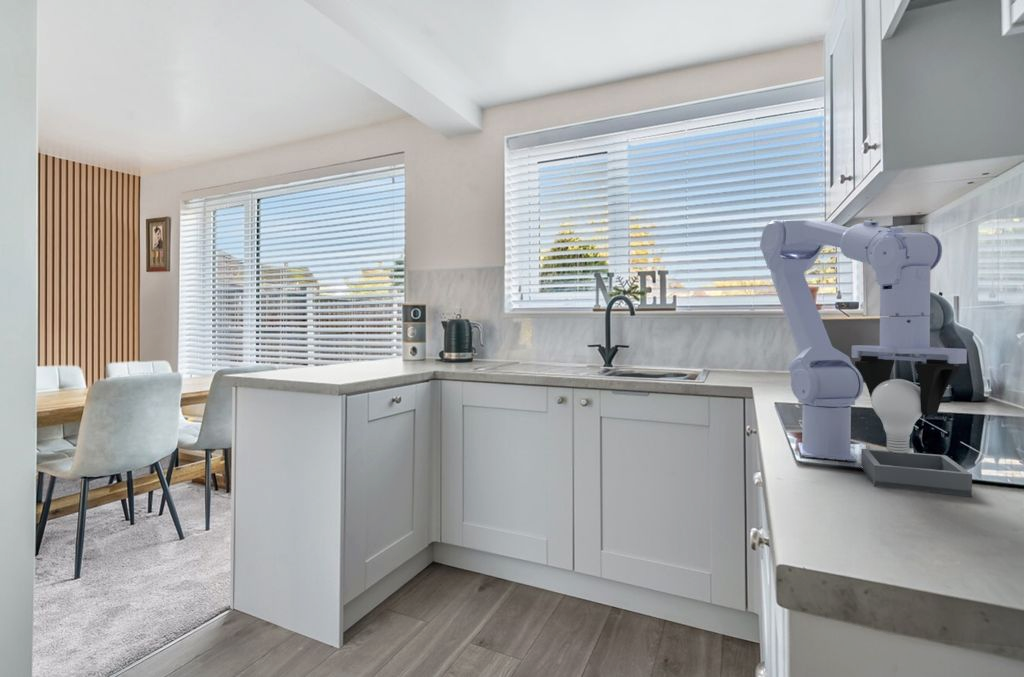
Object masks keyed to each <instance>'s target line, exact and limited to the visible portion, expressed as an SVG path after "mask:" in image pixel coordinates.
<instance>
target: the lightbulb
mask: <svg viewBox="0 0 1024 677" xmlns="http://www.w3.org/2000/svg"><path fill="white" fill-rule="evenodd" d="M870 402H871V407H872V409H873V411H874V412H875V414H876V415H877V416H878V418H880V420H881V423H882V425H883V430H884V432H885V435H886V436H885V437H886V447H885V448H886V449H885V450H886V451H890V452H891V453H893V454H895V455H903V454H905V453H908V452H910V451H911V450H910V438H911V434H912V432H913V430H914V426H915V424H916V422H917V421H918V420H919V419H920V418H921V417H922V416H923V415H922V412H921V391H920V386H918V385H917V384H916V383H913V382H912V381H909V380H906V379H902V378H893V379H891V378H890V379H889V380H887V381H884V382H882V383H880V384H879V385H878V386H877V387H876V388H875V389H874V390H873V392H872V395H871V397H870Z"/></svg>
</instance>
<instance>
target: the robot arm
mask: <svg viewBox="0 0 1024 677" xmlns="http://www.w3.org/2000/svg"><path fill="white" fill-rule="evenodd" d="M825 246H831V247H835V248H839V249H840V251H841V254H842V255H843V256H844V257H845V258H847V259H851V260H854V261H857V262H861V263H864V264H867V265H869V266H871V268H872V269H873V270H874V272H875V282H877V285H879V345H861V344H860V345H859V344H858V345H851V358H854V359H860V360H855V362H854V364H853V363H852V360H851V358H850V356H848V355H847V354H845V353H843V352H842V351H840V350H839V349H837V348H835V347H834V346H833V344H832V342H831V340H830V338H829V335H828V333H827V330H826V327H825V325H824V322H823V319H822V317H821V315H820V312H819V309H818V307H817V304H816V301H815V300H814V296H813V294H812V291H811V289H810V286H809V284H808V281H807V279H806V276H805V272H807V271H808V270H810V269H812V268H813V266H814V264H815V262H816V261H817V259H818V257H819V255H820V254H821V252H822V250H823V248H824V247H825ZM759 247H760V249H761V253H762V256H763V258H764V261H765V264H766V266H767V268H768V270H770V275H771V280H772V283H773V286H774V288H775V292H776V294H777V296H778V300H779V302H780V305H781V307H782V312H783V314H784V317H785V320H786V323H787V325H788V327H789V330H790V334H791V336H792V339H793V342H794V344H795V348H796V351H797V354H798V355H797V356H796V357H795V358H794V359H793V360H792V361H791V363H790V365H789V366H788V370H789V374H790V386H791V388H790V389H791V391H792V393H793V395H794V397H795V398H796V399H797V400H798V403H800V404H802V411H801V412H802V419H801V420H802V422H801V424H802V431H801V432H802V433H801V434H802V439H801V440H802V441H801V442H798V444H797V446H798V450H799V453H801V454H800V456H801V455H802V456H801V457H803V456H809V457H808V458H813V457H818V458H817V459H824V458H830V459H829V460H835V459H836V461H837V460H838V461H846V460H847V462H857V457H856V456H855V455H854V453H853V452H852V450H851V438H852V436H851V435H852V434H851V428H852V427H851V423H852V422H851V421H852V420H851V418H852V417H851V416H852V411H851V410H852V408H851V406H855V405H856V400H858V399H859V398H860V397H861V395H862V393H863V391H864V384H865V385H866V387H867V391H868V393H869V396H870V398H871V395H872V392H873V390H874V389H875V388H876V387H877V386H878V385H879V384H880V383H882V382H884V381H887V380H891V373H892V370H893V368H894V365H895V361H909V362H910V361H911V362H921V363H914V368H915V371H916V374H917V379H918V383H919V384H918V385H919V388H920V391H921V412H922V416H923V415H924V416H935V415H938V412H939V408H940V406H941V403H942V400H943V397H944V394H945V392H946V390H947V389H948V387H949V385H950V384H951V382H952V381H953V379H954V378H955V376H956V375H957V374H958V373H959V371H960V368H961V367H960V365H959V364H967V363H968V362H967V360H968V357H967V356H968V355H967V354H968V350H967V348H956V347H953V348H951V347H949V348H948V347H934V346H933V347H932V346H930V344H931V339H930V338H931V271H932V270H933V269H935V267H937V266H938V264H939V262H940V261H941V258H942V255H943V246H942V243H941V240H940V239H939V238H938V237H937V236H936V235H934V234H932V233H930V232H928V231H920V232H916V233H915V232H905V231H904V228H903V227H901V226H891V227H885V226H880V225H879V221H875V220H864V221H863V222H861V223H856V224H854V225H852V226H850V227H849V226H848V227H847V226H844V225H840V224H838V223H834V222H831V221H827V220H816V219H815V220H807V219H806V220H805V219H804V220H801V219H799V220H797V219H796V220H794V219H792V220H790V219H789V220H778V219H772V220H770V221H769V222H768V223H767V224H766V225H765V227H764V229H763V231H762V234H761V239H760V243H759ZM895 354H903V355H913V356H898V355H895ZM894 355H895V356H894ZM924 362H926V363H924Z"/></svg>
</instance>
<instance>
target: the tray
mask: <svg viewBox="0 0 1024 677" xmlns="http://www.w3.org/2000/svg"><path fill="white" fill-rule="evenodd" d="M860 450H861V453H860V454H861V456H860V458H861V460H860V461H861V462H860V467H861V466H862V467H863V469H862V471H863V472H864V473H865V475H866V476H867V478H868V480H869V481H870V482H871V485H873V486H874V487H877V488H886V489H887V488H888V489H893V490H895V489H896V490H904V491H913V492H923V493H929V494H930V493H933V494H941V495H952V496H958V497H959V496H961V497H966V498H972V497H973V474H972V473H971V472H969V471H968V470H967V469H965V468H964V467H963V466H961V465H960V464H958V463H957V462H956V461H954V460H953V459H952V458H951V457H949V456H948V455H947V454H946V455H945V454H944V455H943V454H933V453H919V452H910V451H909V452H908V453H905V454H903V455H895V454H893V453H891V452H890V451H888V450H886V449H885V450H884V449H883V450H882V449H873V448H860Z"/></svg>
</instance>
